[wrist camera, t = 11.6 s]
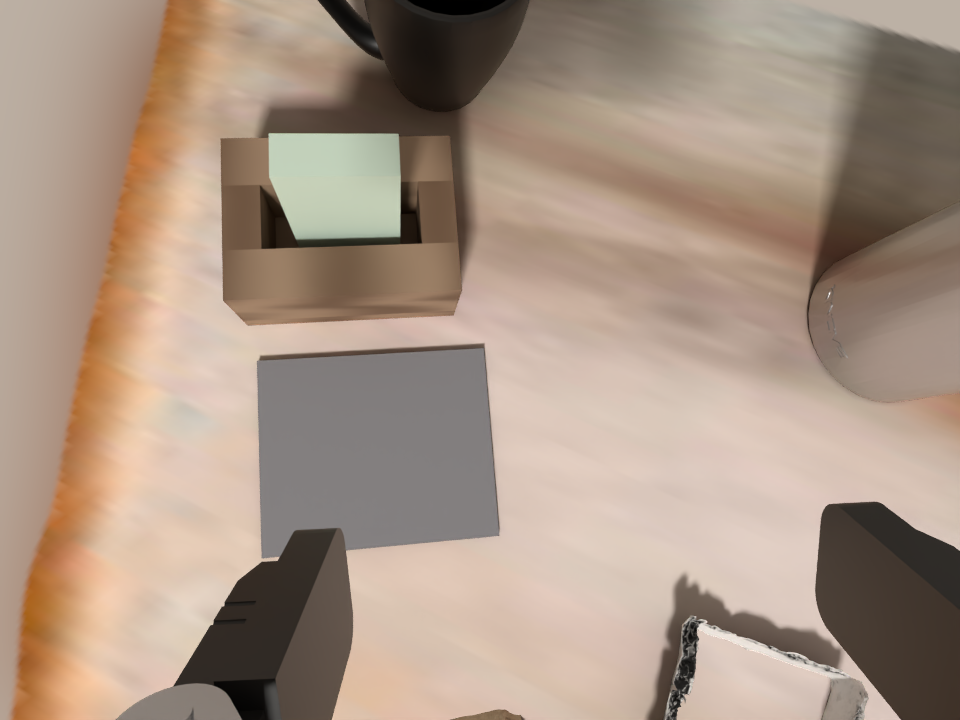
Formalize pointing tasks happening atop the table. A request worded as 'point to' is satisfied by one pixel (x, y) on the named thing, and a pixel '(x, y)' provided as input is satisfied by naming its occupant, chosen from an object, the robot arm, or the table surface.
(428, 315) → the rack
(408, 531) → the mat
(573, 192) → the table surface
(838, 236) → the table surface
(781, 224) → the table surface
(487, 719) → the brown curved sheet
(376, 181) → the tall mint green block
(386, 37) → the mug
